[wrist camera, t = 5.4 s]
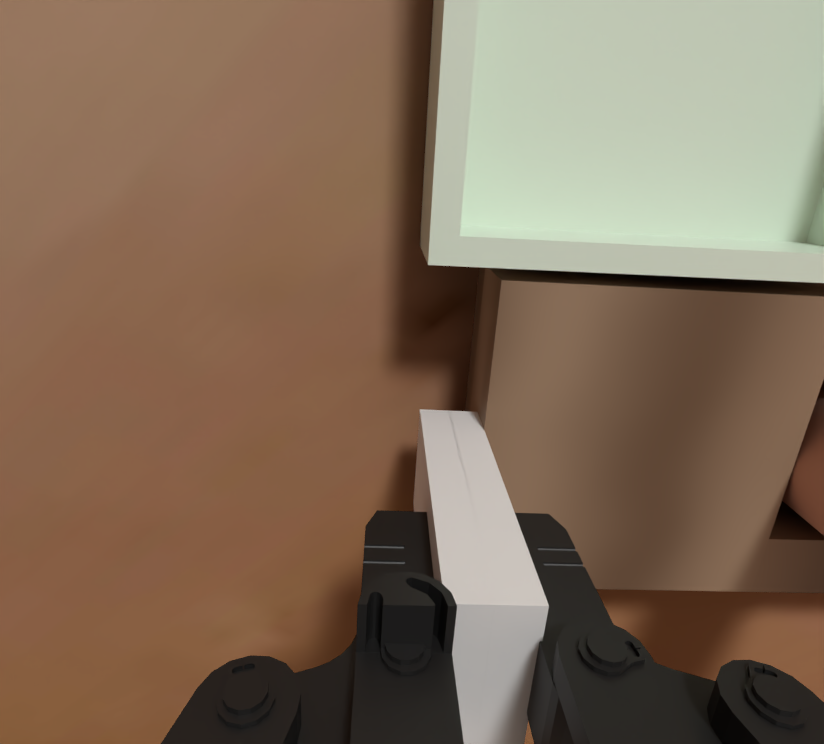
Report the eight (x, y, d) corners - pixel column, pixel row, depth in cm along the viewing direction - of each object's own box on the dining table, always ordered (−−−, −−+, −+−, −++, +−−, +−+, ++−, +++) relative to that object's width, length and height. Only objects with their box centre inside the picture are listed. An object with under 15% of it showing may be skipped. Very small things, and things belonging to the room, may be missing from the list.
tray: (419, 245, 14) (427, 264, 11) (450, -303, 10) (474, -479, 8) (804, 263, 14) (904, 286, 12) (957, -250, 11) (1153, -393, 8)
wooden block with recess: (453, 517, 17) (465, 586, 14) (479, 258, 14) (501, 280, 11) (879, 528, 18) (970, 595, 15) (982, 285, 15) (1118, 312, 12)
